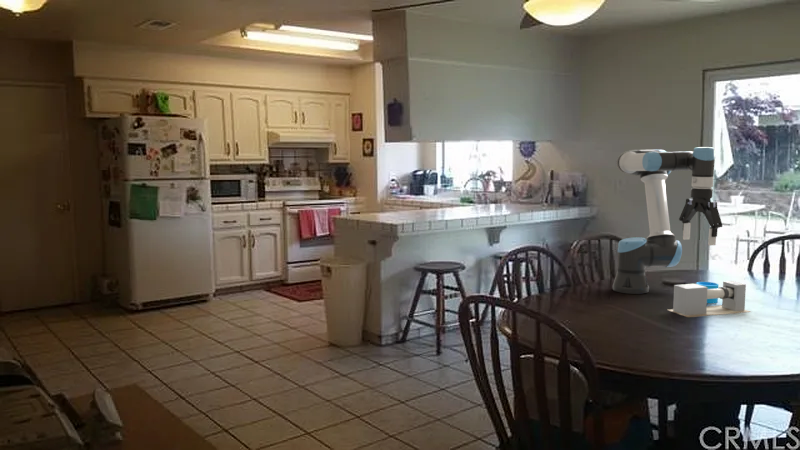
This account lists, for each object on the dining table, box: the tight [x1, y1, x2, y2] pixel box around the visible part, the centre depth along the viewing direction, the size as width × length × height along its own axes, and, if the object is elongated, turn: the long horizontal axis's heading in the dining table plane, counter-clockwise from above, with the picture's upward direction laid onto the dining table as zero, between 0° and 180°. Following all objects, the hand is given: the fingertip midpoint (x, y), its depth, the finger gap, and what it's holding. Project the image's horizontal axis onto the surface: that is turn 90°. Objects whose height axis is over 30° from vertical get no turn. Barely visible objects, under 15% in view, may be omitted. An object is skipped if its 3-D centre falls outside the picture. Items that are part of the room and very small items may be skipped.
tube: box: [707, 286, 734, 300], centre depth 242 cm, size 18×4×4 cm, turn 104°
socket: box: [721, 280, 747, 311], centre depth 244 cm, size 4×7×10 cm, turn 14°
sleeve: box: [672, 283, 708, 316], centre depth 240 cm, size 9×7×10 cm
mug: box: [695, 281, 719, 304], centre depth 259 cm, size 12×8×8 cm
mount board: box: [668, 304, 752, 318], centre depth 242 cm, size 12×28×1 cm, turn 104°
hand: (698, 242), depth 248 cm, fingers open, 13 cm apart
